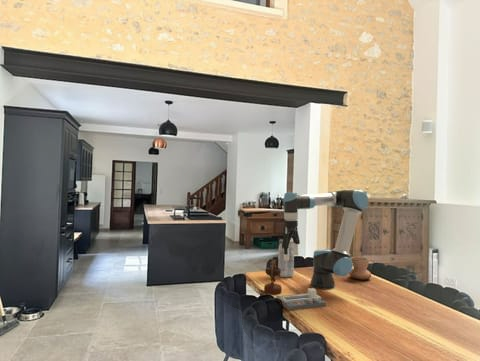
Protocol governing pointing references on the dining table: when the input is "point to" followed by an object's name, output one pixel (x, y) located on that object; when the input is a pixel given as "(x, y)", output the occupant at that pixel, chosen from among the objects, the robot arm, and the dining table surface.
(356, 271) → the ceramic jug
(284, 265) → the grey canister
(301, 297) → the console
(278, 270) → the brown rounded tall piece
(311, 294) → the fader
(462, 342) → the dining table surface
